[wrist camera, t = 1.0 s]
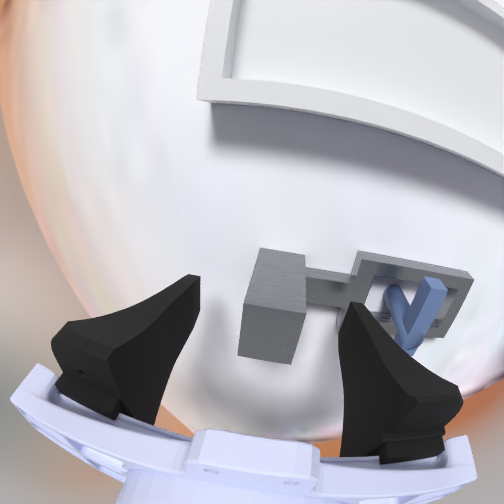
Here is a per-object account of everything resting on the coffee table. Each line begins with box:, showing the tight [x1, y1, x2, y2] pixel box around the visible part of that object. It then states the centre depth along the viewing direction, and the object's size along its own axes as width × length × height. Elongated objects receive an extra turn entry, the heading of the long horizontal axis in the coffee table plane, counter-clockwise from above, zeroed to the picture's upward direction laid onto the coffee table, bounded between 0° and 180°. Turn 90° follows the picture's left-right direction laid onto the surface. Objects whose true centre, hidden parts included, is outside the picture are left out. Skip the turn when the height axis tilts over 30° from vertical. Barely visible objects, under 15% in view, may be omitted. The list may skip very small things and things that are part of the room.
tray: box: [196, 0, 504, 177], centre depth 8 cm, size 19×10×2 cm, turn 83°
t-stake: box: [383, 276, 448, 356], centre depth 12 cm, size 1×4×4 cm, turn 173°
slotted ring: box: [238, 248, 474, 364], centre depth 13 cm, size 13×5×5 cm, turn 83°
